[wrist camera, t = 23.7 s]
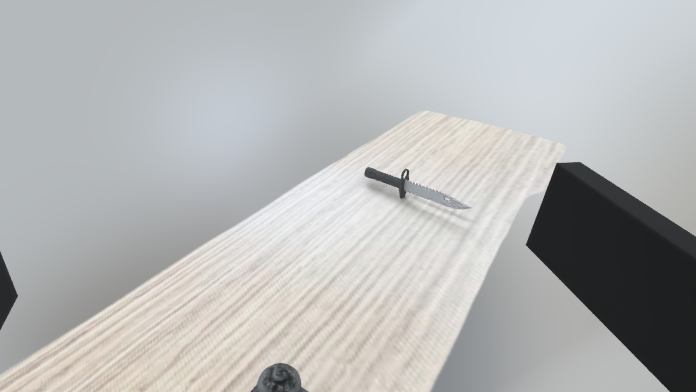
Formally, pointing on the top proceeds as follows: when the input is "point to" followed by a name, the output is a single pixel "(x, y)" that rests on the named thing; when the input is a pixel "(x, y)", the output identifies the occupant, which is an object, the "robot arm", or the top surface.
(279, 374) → the salt shaker
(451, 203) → the knife
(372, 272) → the top surface
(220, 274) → the top surface
